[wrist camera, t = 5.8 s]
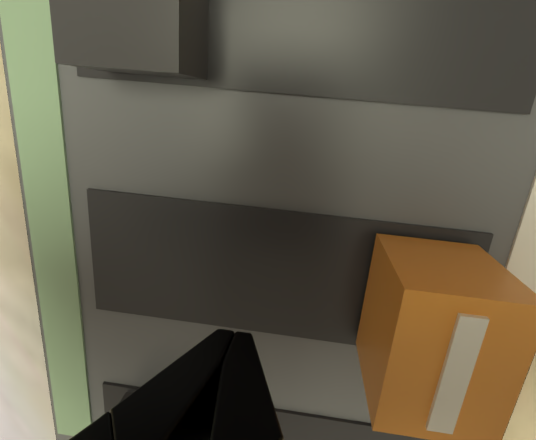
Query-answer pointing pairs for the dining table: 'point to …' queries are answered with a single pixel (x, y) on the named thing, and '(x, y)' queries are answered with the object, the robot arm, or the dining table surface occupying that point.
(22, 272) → the dining table surface
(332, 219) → the panel
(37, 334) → the dining table surface
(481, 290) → the handle
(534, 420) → the dining table surface
